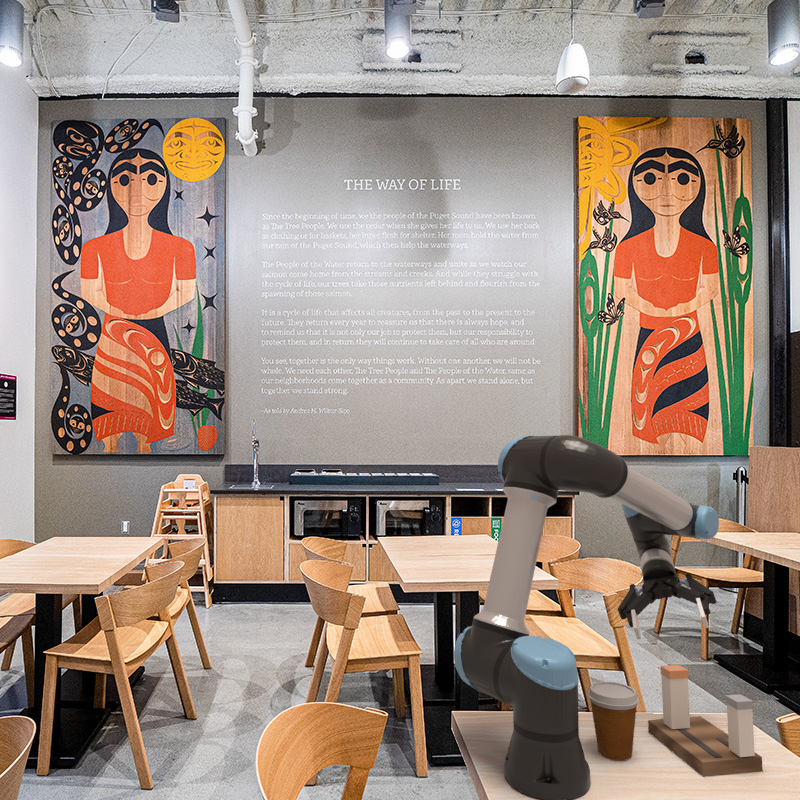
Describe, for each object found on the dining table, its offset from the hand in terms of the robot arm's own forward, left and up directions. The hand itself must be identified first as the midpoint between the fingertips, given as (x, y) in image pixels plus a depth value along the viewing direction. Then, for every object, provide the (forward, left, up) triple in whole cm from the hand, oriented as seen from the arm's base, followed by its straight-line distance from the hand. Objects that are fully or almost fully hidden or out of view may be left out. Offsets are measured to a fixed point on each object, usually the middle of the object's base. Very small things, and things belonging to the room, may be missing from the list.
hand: (670, 628), depth 127 cm
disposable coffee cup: (-4, -15, -22) cm, 27 cm away
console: (+5, 0, -22) cm, 23 cm away
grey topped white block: (+14, 0, -20) cm, 24 cm away
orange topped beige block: (0, +1, -20) cm, 20 cm away
